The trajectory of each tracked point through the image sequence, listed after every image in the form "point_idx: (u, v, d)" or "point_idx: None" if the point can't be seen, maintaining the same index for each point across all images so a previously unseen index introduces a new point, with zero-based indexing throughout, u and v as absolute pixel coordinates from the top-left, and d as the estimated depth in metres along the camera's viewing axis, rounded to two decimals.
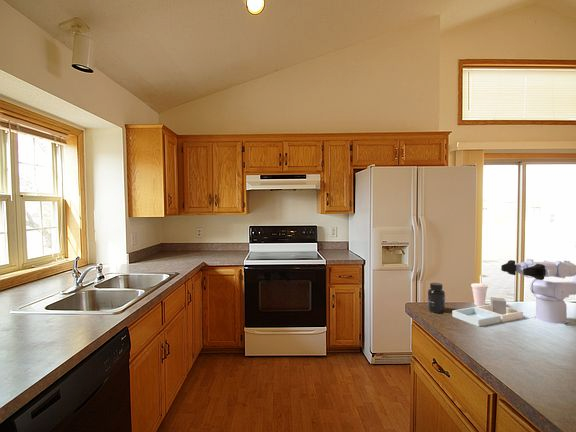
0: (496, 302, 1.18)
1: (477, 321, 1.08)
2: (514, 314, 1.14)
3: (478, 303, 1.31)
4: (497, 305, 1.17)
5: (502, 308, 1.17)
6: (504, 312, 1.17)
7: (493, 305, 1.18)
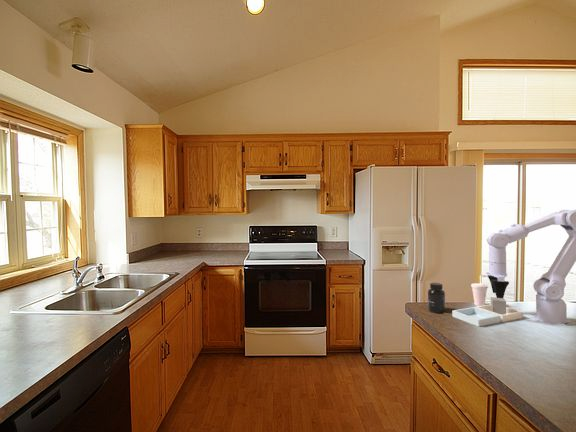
0: (496, 302, 1.18)
1: (477, 321, 1.08)
2: (514, 314, 1.14)
3: (478, 303, 1.31)
4: (497, 305, 1.17)
5: (502, 308, 1.17)
6: (504, 312, 1.17)
7: (493, 305, 1.18)
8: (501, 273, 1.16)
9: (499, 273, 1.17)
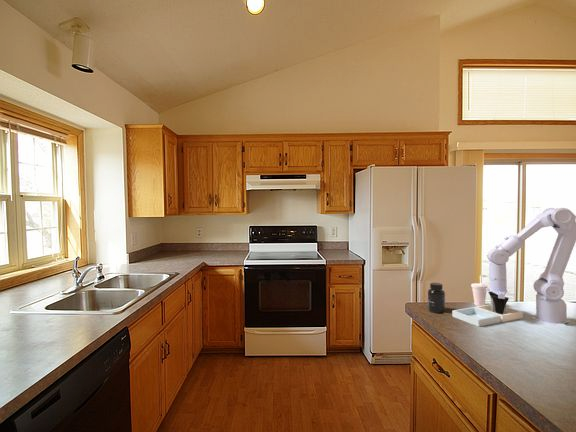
0: None
1: (477, 321, 1.08)
2: (514, 314, 1.14)
3: (478, 303, 1.31)
4: None
5: None
6: (504, 312, 1.17)
7: (493, 305, 1.18)
8: (501, 290, 1.16)
9: (499, 290, 1.17)
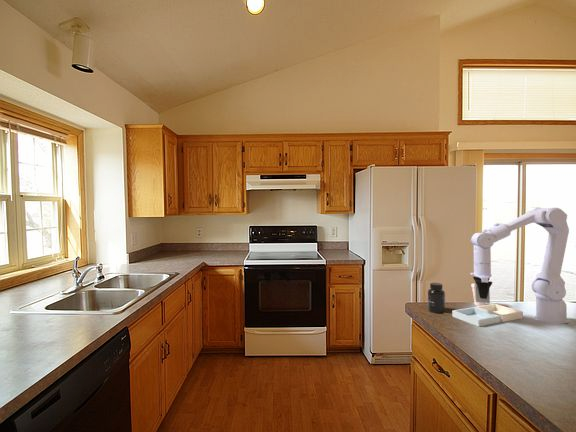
0: None
1: (477, 321, 1.08)
2: (514, 314, 1.14)
3: (478, 303, 1.31)
4: None
5: None
6: (487, 297, 1.14)
7: (476, 291, 1.16)
8: (485, 274, 1.14)
9: (483, 274, 1.14)
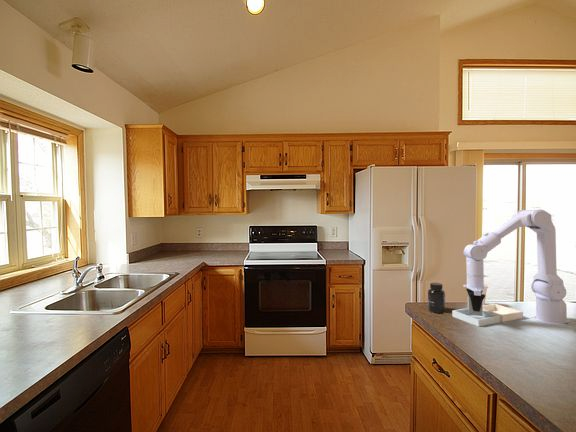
0: None
1: (477, 321, 1.08)
2: (514, 314, 1.14)
3: None
4: None
5: None
6: (480, 310, 1.13)
7: (469, 303, 1.14)
8: (478, 286, 1.12)
9: (476, 286, 1.13)
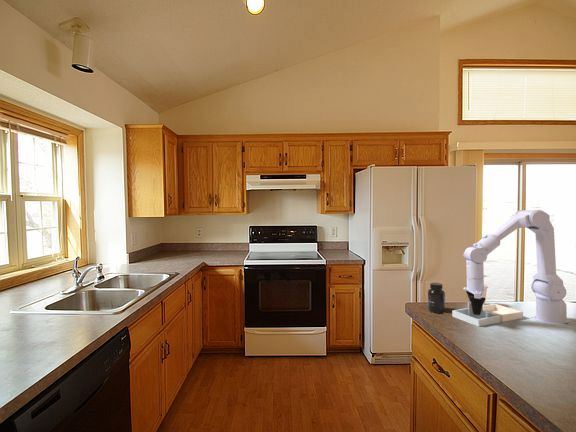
0: None
1: (477, 321, 1.08)
2: (514, 314, 1.14)
3: None
4: None
5: None
6: (481, 316, 1.13)
7: (470, 309, 1.14)
8: (478, 289, 1.12)
9: (476, 289, 1.13)
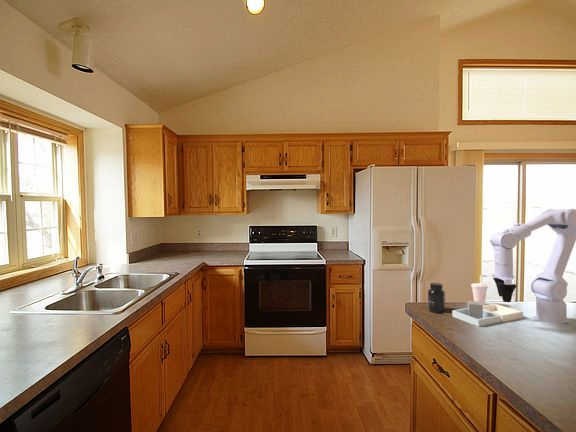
0: (472, 305, 1.14)
1: (477, 321, 1.08)
2: (514, 314, 1.14)
3: None
4: (474, 309, 1.14)
5: (478, 312, 1.13)
6: (481, 316, 1.13)
7: (470, 309, 1.14)
8: (508, 275, 1.09)
9: (506, 275, 1.10)
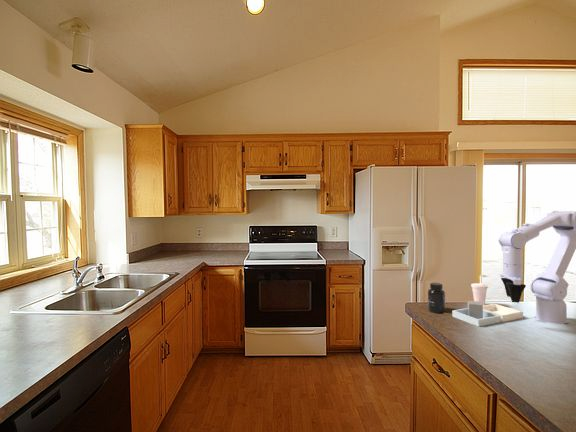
0: (472, 305, 1.14)
1: (477, 321, 1.08)
2: (514, 314, 1.14)
3: None
4: (474, 309, 1.14)
5: (478, 312, 1.13)
6: (481, 316, 1.13)
7: (470, 309, 1.14)
8: (517, 275, 1.08)
9: (514, 275, 1.09)
